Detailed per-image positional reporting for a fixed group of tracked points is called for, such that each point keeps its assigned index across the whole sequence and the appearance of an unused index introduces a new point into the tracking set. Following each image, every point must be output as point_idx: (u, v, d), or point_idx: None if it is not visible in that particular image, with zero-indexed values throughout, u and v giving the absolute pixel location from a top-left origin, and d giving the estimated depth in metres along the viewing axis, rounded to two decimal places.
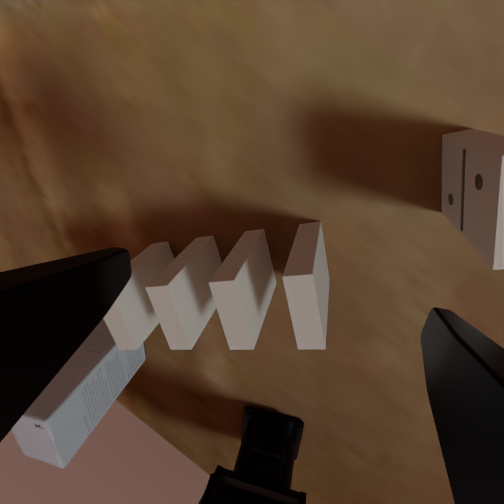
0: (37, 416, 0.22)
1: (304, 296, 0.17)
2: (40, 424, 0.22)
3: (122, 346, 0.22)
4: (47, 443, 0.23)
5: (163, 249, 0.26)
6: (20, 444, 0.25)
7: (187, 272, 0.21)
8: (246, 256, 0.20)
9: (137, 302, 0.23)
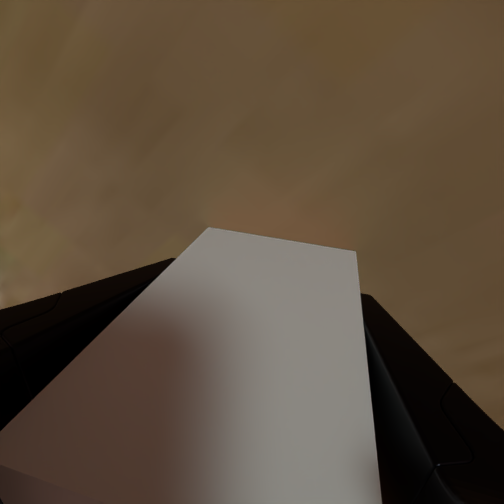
0: None
1: None
2: None
3: None
4: None
5: None
6: None
7: None
8: None
9: None
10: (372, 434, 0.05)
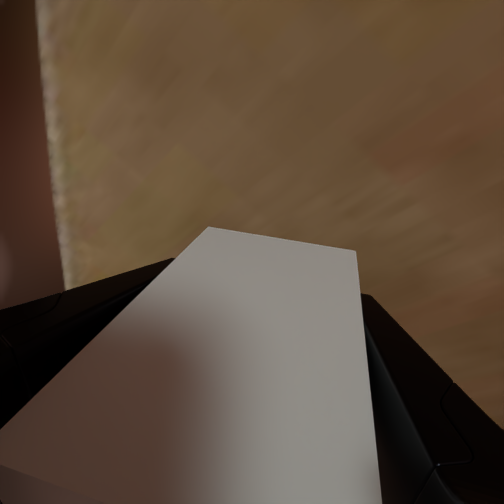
0: None
1: None
2: None
3: None
4: None
5: None
6: None
7: None
8: None
9: None
10: (372, 433, 0.05)
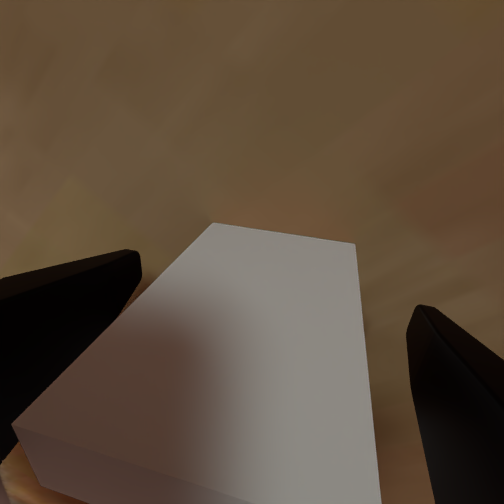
0: None
1: None
2: None
3: None
4: None
5: None
6: None
7: None
8: None
9: None
10: (369, 405, 0.05)
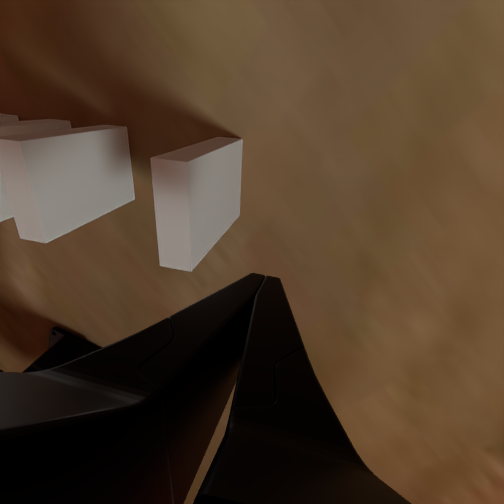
0: None
1: (16, 170, 0.14)
2: None
3: None
4: None
5: None
6: None
7: None
8: (1, 126, 0.17)
9: None
10: (204, 254, 0.16)
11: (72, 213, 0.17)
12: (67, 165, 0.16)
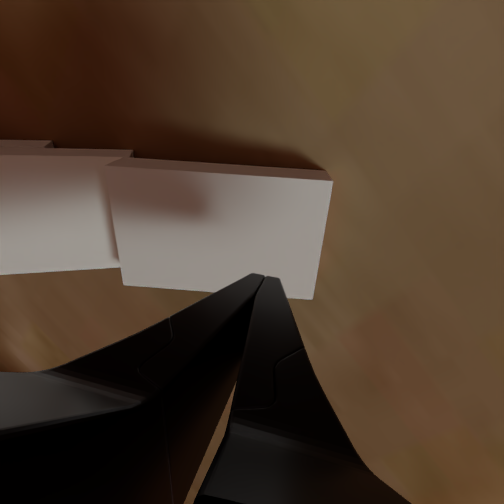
0: None
1: None
2: None
3: None
4: None
5: None
6: None
7: None
8: None
9: None
10: (167, 287, 0.13)
11: None
12: None
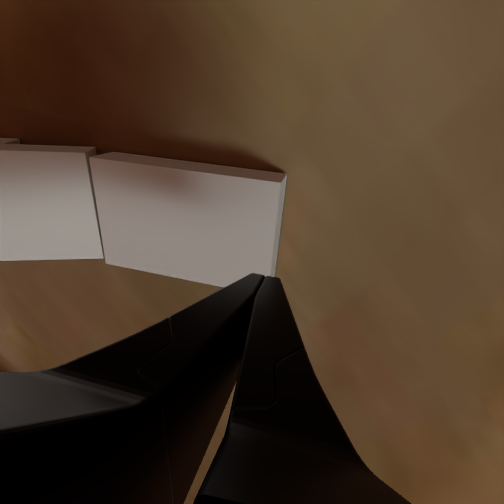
0: None
1: None
2: None
3: None
4: None
5: None
6: None
7: None
8: None
9: None
10: (141, 269, 0.15)
11: None
12: None
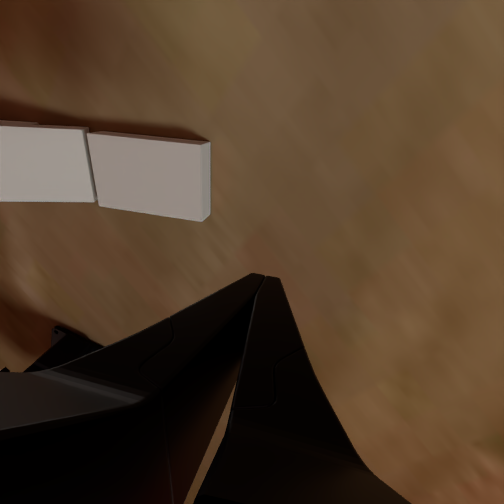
0: None
1: None
2: None
3: None
4: None
5: None
6: None
7: None
8: None
9: None
10: (122, 209, 0.22)
11: None
12: None
